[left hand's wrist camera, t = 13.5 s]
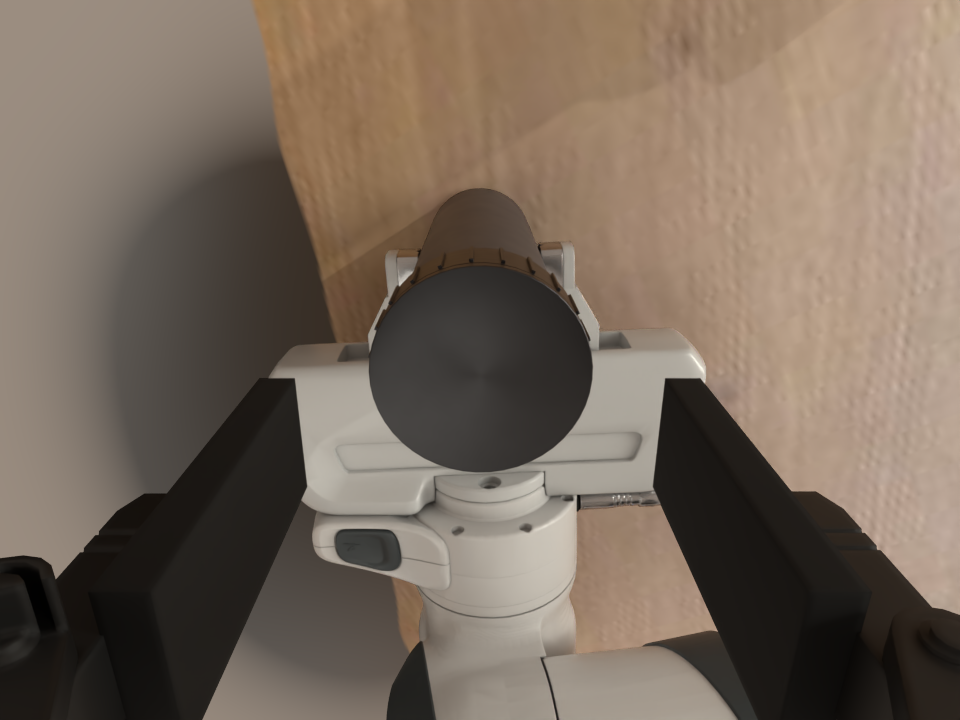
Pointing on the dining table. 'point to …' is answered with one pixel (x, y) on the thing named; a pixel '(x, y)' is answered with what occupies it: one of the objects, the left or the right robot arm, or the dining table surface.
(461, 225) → the dark grey cylinder
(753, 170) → the dining table surface
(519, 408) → the lid
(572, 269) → the right robot arm
